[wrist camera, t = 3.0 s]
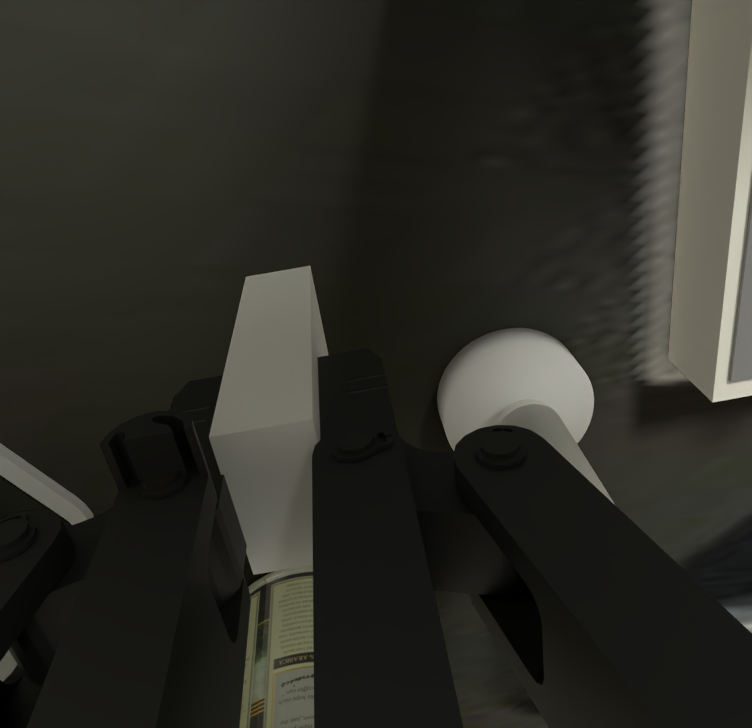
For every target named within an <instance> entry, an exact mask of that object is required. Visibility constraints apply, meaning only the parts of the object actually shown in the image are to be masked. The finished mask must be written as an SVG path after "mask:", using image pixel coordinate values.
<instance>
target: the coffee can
mask: <svg viewBox="0 0 752 728" xmlns="http://www.w3.org/2000/svg"><path fill="white" fill-rule="evenodd" d="M248 588H249V592H250V598H251V605H250V616H249V627H248V638H247V649H246V660H245V671H244V682H243V693H242V704H241V715H240V726H239V728H314V644H313V564H312V565H306V566H301V567H295V568H289V569H284V570H278V571H274V572H272V573H270V574H268V575H265V576H263V577H262V578H260V579H258V580H257V581H255V582H254V583H252V584H251V585H250V586H248Z"/></svg>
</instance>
